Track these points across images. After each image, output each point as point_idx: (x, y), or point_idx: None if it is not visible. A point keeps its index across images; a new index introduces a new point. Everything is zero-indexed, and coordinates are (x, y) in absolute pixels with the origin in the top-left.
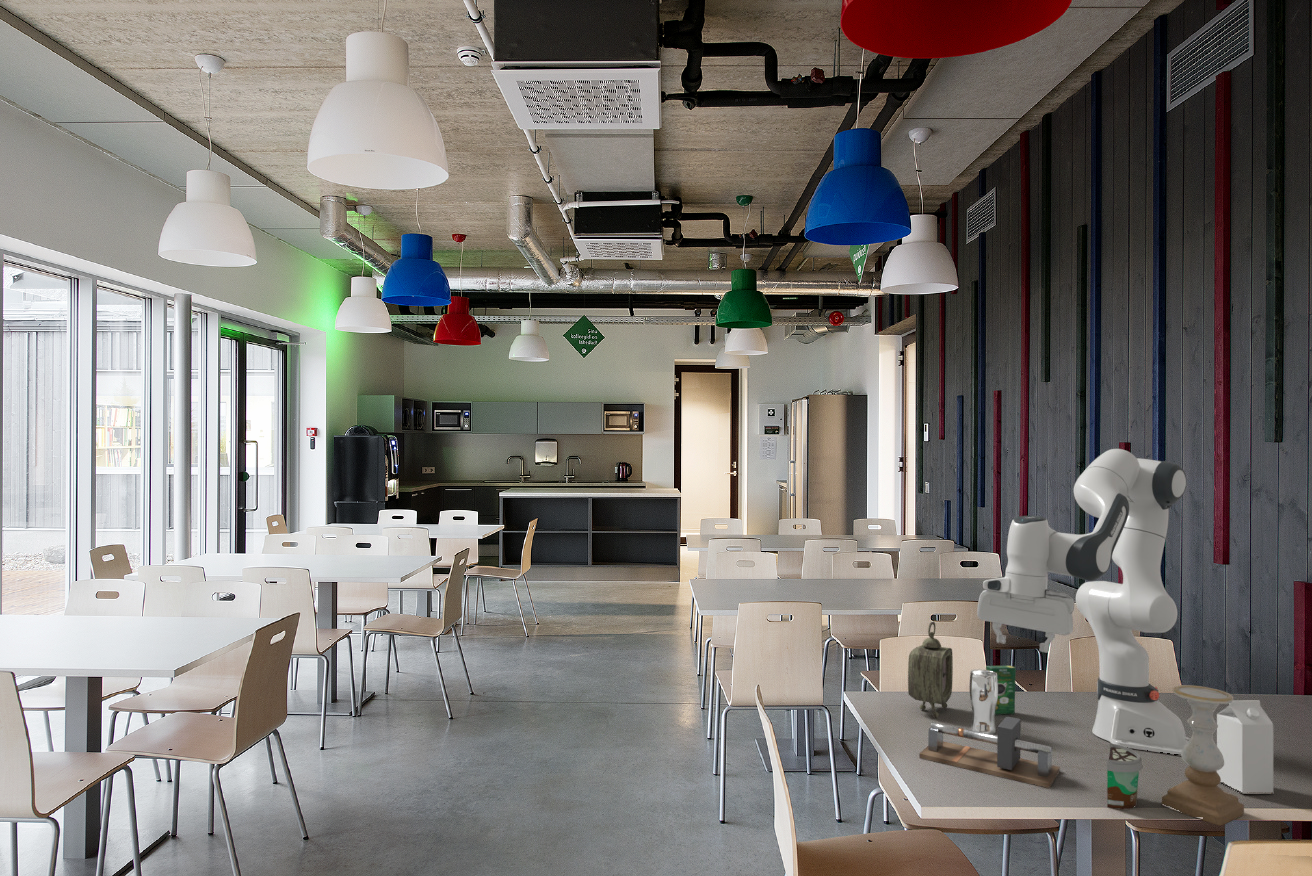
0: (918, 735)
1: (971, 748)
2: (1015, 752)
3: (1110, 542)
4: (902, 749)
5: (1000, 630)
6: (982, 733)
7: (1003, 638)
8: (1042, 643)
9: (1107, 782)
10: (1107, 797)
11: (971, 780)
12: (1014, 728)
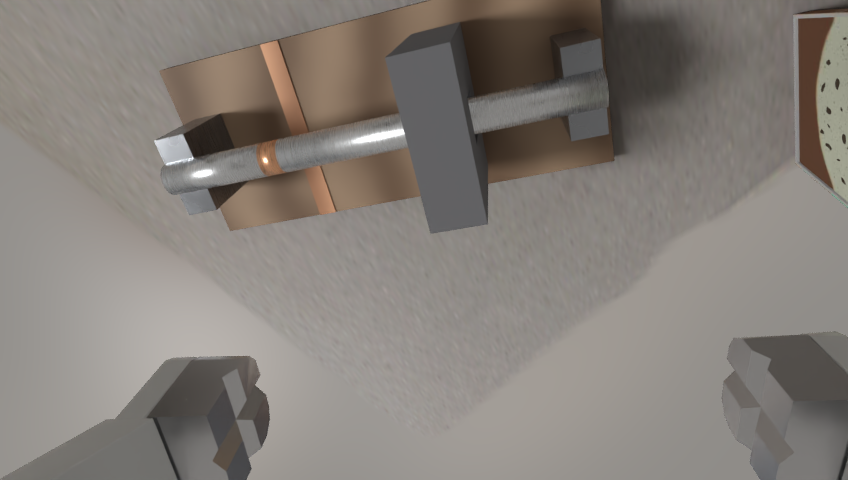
0: (76, 32)
1: (284, 49)
2: None
3: None
4: (161, 200)
5: (76, 467)
6: (347, 153)
7: (243, 466)
8: (807, 450)
9: (843, 203)
10: (813, 178)
11: (421, 264)
12: (477, 171)
